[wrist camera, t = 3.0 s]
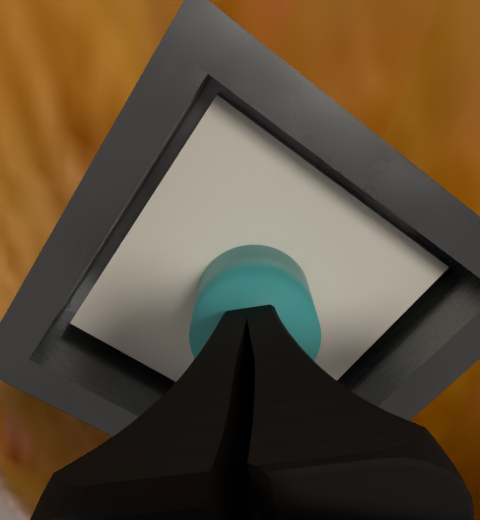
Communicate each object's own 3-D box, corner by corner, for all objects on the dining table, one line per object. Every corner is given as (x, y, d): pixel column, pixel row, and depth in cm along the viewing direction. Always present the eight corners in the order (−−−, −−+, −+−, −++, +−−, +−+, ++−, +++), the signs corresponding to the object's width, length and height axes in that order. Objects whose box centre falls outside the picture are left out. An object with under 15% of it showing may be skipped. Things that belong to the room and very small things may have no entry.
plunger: (436, 254, 15) (489, 306, 12) (277, 419, 18) (284, 497, 15) (218, 92, 13) (210, 101, 10) (79, 308, 16) (38, 370, 13)
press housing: (489, 232, 16) (563, 283, 12) (282, 440, 20) (291, 525, 16) (206, 8, 13) (191, -13, 9) (32, 302, 17) (-25, 367, 13)
